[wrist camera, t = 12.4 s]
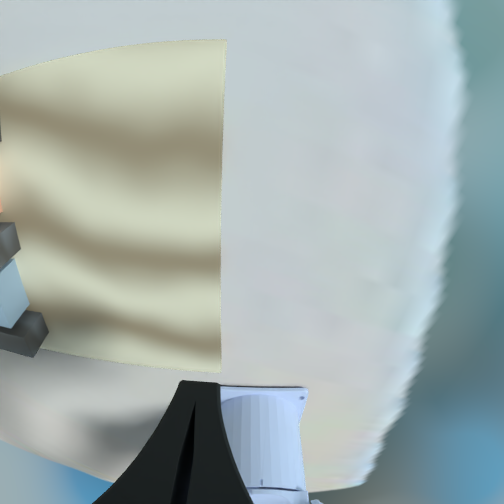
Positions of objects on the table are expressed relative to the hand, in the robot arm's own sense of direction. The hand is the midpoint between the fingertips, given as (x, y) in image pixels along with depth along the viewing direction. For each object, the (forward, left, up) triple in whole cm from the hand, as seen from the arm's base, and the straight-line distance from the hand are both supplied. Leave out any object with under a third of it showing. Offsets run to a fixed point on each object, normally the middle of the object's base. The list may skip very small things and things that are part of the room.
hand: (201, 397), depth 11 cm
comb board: (+2, +11, -9) cm, 15 cm away
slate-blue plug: (-2, +17, -9) cm, 19 cm away
